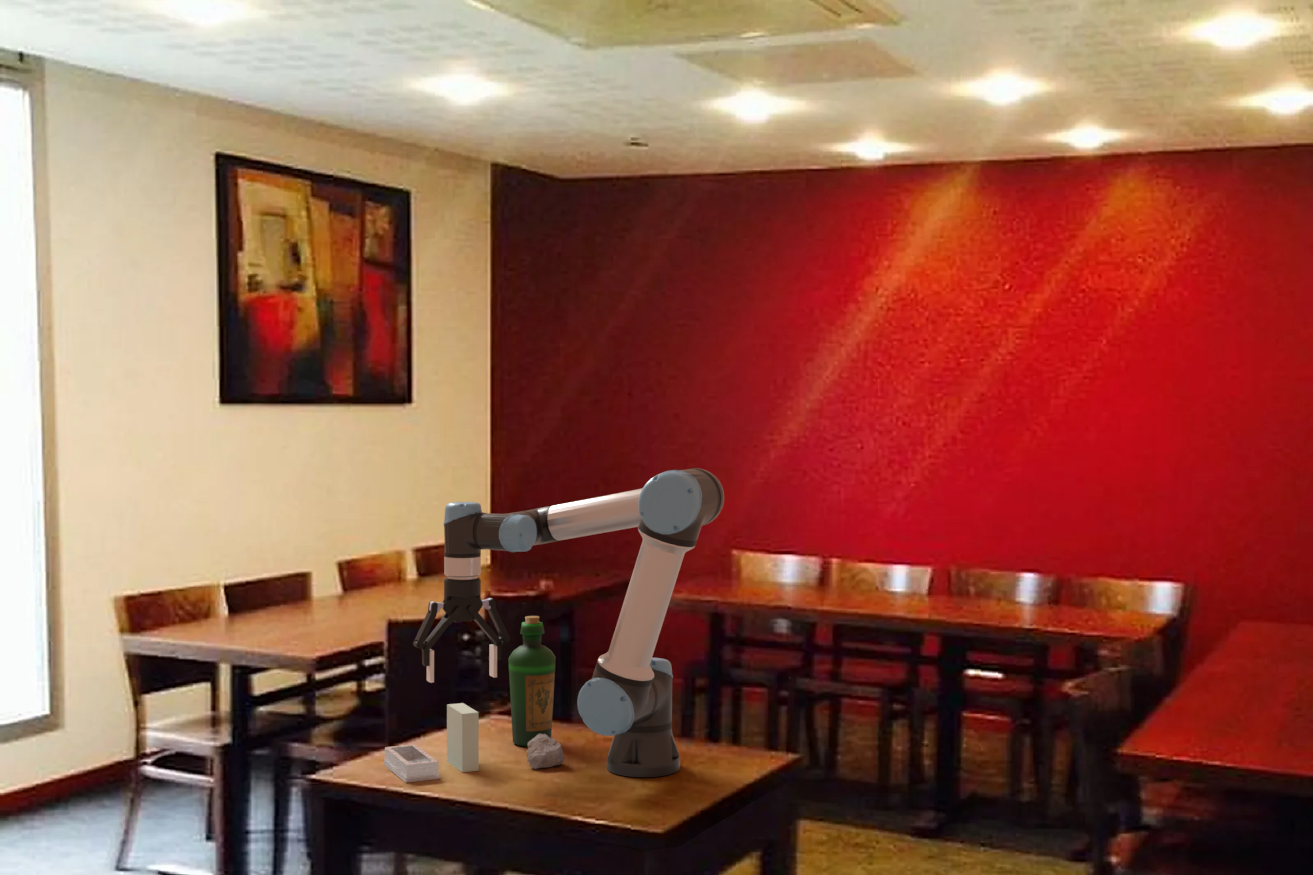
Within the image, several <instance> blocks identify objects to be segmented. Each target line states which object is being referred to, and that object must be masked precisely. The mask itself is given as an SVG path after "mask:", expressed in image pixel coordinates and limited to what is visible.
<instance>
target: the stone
mask: <svg viewBox="0 0 1313 875" xmlns="http://www.w3.org/2000/svg"><path fill="white" fill-rule="evenodd" d="M527 746H528V747H527V750H526V761H527V762H528V764H529V767H531V768H532V769H534V770H537V769H542V768H543V769H545V768H552V767H555V766H560V765H561V764H562V763H564V762H565V754H564V750H563V748H562V744H561V743H559V742H558V740H557V738H554V737H551V738H550V737H548V736H547V735H546V734H541V733H540V734H538V735H536V736H535V738H533V739H532V740H530V741H529V742H528V745H527Z"/></svg>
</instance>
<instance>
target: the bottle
mask: <svg viewBox="0 0 1313 875" xmlns="http://www.w3.org/2000/svg"><path fill="white" fill-rule="evenodd" d="M524 619H525V621H522V622H521V626H520V627H521V628H520V631H519V634H520V635H522V643H523V644H522V645H519V646H518V647H516V648H515V649H514V650H513V651H512V652H511V653H510V655H509V657H508V660H507V661H508V673H509V674H508V676H509V679H508V680H509V694H510V697H509V698H510V711H511V712H510V713H511V714H510V715H511V733H512V734H511V735H512V743H513V744H515V745H517V746H520V747H523V746H524V747H525V748H528V746H527V745H528V742H529V741H530V740H532V739H533V738H535V736H536V735H538V734H540V733H541V734H546V735H547V736H548V737H550V738H552V729H553V728H552V727H553V710H554V695H555V694H554V692H555V676H556V674H555V673H556V658H557V657H556V656H555V654H554V652H553V650H552V649H550V648H549V647H547V646H546V645H543V644H542V636H543V634H545V628H544V624H543V621H542V622H541V621H540V616H539V615H526V616H525V617H524Z"/></svg>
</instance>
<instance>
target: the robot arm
mask: <svg viewBox="0 0 1313 875" xmlns="http://www.w3.org/2000/svg"><path fill="white" fill-rule="evenodd" d="M724 503H725V492H724V488H723V485H722V483H721V481H720V480H719V479H718V477H717V476H716V475H714V474H713V473H712V472H710V471H708V470H706V469H703V468H700V467H693V468H686V469H680V470H679V469H671V470H666V471H663V472H661V473H658V474H656V475H655V476H653V477H652V478H650V479H649V480H648V481H646V483H645V484H644V486H643V487H642V488H638V489H632V490H627V491H622V492H618V493H612V494H607V495H602V496H601V495H600V496H595V497H591V498H586V499H585V498H584V499H580V500H574V501H570V502H565V503H564V502H563V503H559V504H554V505H551V506H544V507H537V508H533V509H528V510H521V511H515V512H514V511H513V512H509V513H488V512H482V506H481V504H480V503H479V502H475V501H453V502H448V503H447V504H446V505H445V507H444V521H443V528H444V529H443V530H444V558H443V559H444V562H443V563H444V565H443V566H444V567H443V568H444V569H443V570H444V571H443V574H444V576H446V577H445V578H444V579H443V600H442V602H440V601H439V602H438V601H437V602H436V601H433V600H430V601H429V603H428V606H427V608H428V609H427V613H426V615H425V617H424V618H423V621H422V624H420V628H419V629H418V632H417V634H416V636H415V638H414V639H413V642H412V645H413V646H414V647H416V648H417V649H420V650H421V660H422V661H421V664H422V665H423V666H424V667H426V681H427V682H428V683H431V684H432V683H435V650H434V649H432V647H433V646H434V645H435V644H436V642H437V641H438V640H439V639H440V637H441V636H442V635H443V633H445V631H446V629H447V628H448V627H449V626H450V625H452V624H453V622H454V623H457V624H458V623H459V624H460V623H462V622H466V623H471V622H472V621H473V622H474V623H476V625H478V626H479V628H480V629H481V630H482V631H483V632H484V634H485V635H486V636H487V637H488V638H489V640H490V641H491V644H489V648H488V649H489V650H488V651H489V654H488V655H489V656H488V661H489V663H488V664H489V670H488V672H489V676H490V677H492V678H494V679H495V678H498V661H501V660H502V646H503V645H504V644H505V643H509V642H510V640H511V637H510V634H509V633H508V631H507V629H506V626H505V624H504V623H503V620H502V618H501V616H500V613H499V612H498V610H497V603H496V600H495V599H494V598H492V597H487V598H485V599H482V598H481V596H482V595H481V594H482V593H481V592H482V590H481V588H482V587H481V586H482V582H481V578H480V576H481V574H482V572H481V570H482V565H481V564H482V563H481V562H482V558H481V554H482V550H490V551H504V552H510V553H516V552H520V553H522V552H528V551H530V550H531V549H532V547H533V546H537V545H538V546H539V545H545V544H549V543H554V542H559V541H564V540H569V539H570V540H571V539H576V538H581V537H587V536H592V535H593V536H594V535H598V534H603V533H610V532H616V531H620V530H628V529H632V528H637V530H638V533H639V534H640V536H641V538H642V541H641V545H640V548H639V551H638V555H637V557H636V560H635V564H634V568H633V570H632V574H631V577H630V581H629V584H628V587H627V589H626V592H625V596H624V599H623V603H622V606H621V609H620V612H619V616H618V619H617V622H616V626H615V630H614V632H613V635H612V638H611V642H610V645H609V648H608V651H606V653H604V654H601V655H599V657H598V659H597V661H596V664H595V668H594V671H593V674H592V677H591V679H589V680H588V681H586V682H585V683H584V685H582V687H581V688H580V690H579V692H578V696H577V703H576V704H577V711H578V714H579V716H580V718H581V719H582V722H583V723H584V724H585V726H587V728H589V729H590V730H591V731H592V732H594V733H595V734H598V735H601V736H605V737H608V736H609V737H612V736H613V738H612V740H611V744H610V747H609V750H608V754H607V757H606V770H607V771H608V772H610V773H612V774H614V775H618V776H623V777H629V778H630V777H632V778H656V777H663V776H669V775H673V774H675V773H678V771H680V770H681V756H680V753H679V750H678V746H677V744H676V741H675V738H674V733H673V729H672V728H673V725H672V724H673V720H672V719H673V718H672V717H673V679H674V675H673V669H672V663H671V661H669V660H668V659H665V658H660V657H653V656H654V652H655V650H656V646H657V643H658V640H659V636H660V634H661V630H662V627H663V624H664V621H665V617H666V615H667V611H668V608H669V605H670V601H671V598H672V595H673V591H674V589H675V585H676V583H677V579H678V576H679V572H680V570H681V566H682V563H683V560H684V557H685V554H686V553H687V552H689V551H691V550H693V549H694V548H695V547H696V546H697V542H698V540H699V539H698V538H699V535H700V533H701V530H702V527H703V526H706V525H708V524H710V523H712V522H713V521H714V520H716V518H717V517H718V516H719V515H720V514H721V511H722V510H723V508H724ZM482 608H484V609H485V610H487V613H488V614H489V616H490V618H491V621H492V623H493V624H494V625H493V626H494V627H495V629H496V631H497V632H498V633H497V634H498V635H497V634H496V633H495V631H494V630H493V629H492V627H490V625H489V624H488V623H487V622H486V620H484V618H483V617H482V615H481V614H480V613H479V612H480V611H481V609H482ZM441 610H443V611H444V614H443V616H442V617H441V618H440V621H439V622H438V623H437V625H436V626H435V628H433V630H432V631H431V632H430V630H431V628H432V627H433V624H434V621H435V619H436V618H437V614H438V613H439V612H441ZM429 632H430V634H429ZM428 634H429V635H428ZM492 643H493V644H492Z"/></svg>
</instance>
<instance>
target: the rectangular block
mask: <svg viewBox="0 0 1313 875" xmlns="http://www.w3.org/2000/svg"><path fill="white" fill-rule="evenodd" d="M479 726H480V725H479V711H477V710H475V709H474V708H472V707H470V706H469V705H467V704H466V703H464V702H460V703H457V702H456V703H449V704H446V762H447V763H449V764H450V765H451V766H453V767H454V768H455V769H457V770H458V771H460V772H461V773H470V772H476V771H479V766H480V765H479V756H480V755H479V746H480V745H479V741H480V739H479V728H480V727H479Z"/></svg>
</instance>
